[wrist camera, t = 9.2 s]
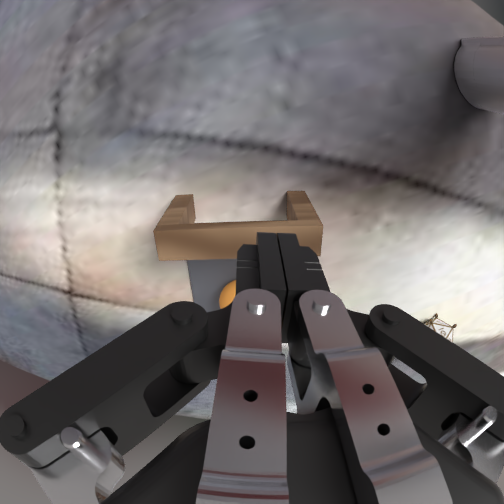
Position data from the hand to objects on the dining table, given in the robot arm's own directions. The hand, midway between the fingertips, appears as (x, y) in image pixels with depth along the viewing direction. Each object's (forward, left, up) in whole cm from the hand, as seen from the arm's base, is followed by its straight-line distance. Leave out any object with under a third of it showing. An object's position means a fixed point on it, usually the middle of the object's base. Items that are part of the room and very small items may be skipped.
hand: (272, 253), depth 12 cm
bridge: (+6, -2, -22) cm, 23 cm away
